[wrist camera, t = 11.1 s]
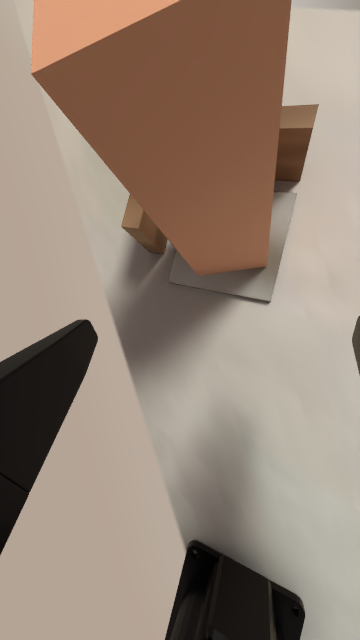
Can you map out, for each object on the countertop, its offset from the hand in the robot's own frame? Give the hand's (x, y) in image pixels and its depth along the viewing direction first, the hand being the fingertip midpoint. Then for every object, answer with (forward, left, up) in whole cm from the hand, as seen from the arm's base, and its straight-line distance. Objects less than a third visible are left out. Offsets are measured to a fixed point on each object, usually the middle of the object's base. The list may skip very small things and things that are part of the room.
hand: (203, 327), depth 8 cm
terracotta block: (+6, +2, -8) cm, 10 cm away
